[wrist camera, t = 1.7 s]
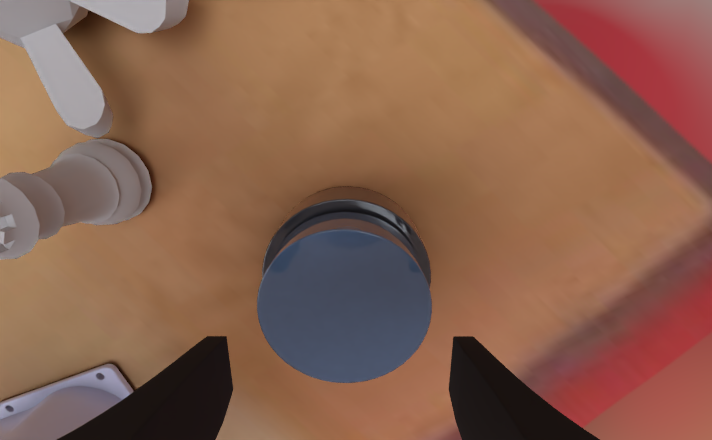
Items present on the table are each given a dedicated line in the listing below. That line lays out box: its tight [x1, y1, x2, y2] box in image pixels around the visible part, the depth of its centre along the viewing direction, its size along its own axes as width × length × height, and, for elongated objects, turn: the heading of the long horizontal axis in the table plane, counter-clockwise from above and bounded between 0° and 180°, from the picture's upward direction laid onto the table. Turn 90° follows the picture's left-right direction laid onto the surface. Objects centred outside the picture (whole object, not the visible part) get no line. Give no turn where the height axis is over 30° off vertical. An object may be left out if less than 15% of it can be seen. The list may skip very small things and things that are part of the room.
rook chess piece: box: [0, 139, 152, 259], centre depth 16 cm, size 4×4×8 cm
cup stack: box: [257, 186, 432, 383], centre depth 19 cm, size 9×9×6 cm
